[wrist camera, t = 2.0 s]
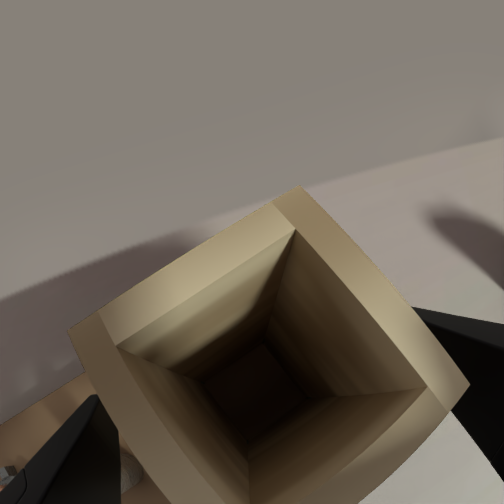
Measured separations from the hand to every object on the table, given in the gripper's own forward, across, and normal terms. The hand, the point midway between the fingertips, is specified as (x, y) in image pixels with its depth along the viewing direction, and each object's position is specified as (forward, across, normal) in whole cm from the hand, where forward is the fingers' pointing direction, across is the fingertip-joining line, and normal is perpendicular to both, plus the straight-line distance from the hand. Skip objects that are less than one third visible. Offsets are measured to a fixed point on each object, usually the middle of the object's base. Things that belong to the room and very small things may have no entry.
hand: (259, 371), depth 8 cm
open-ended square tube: (+5, 0, +5) cm, 7 cm away
